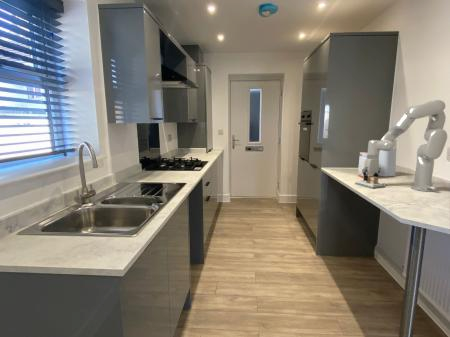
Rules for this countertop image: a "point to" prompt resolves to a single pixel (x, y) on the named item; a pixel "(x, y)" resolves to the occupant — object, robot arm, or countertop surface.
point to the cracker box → (362, 164)
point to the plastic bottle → (387, 163)
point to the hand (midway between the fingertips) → (370, 180)
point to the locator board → (370, 185)
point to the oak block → (371, 179)
